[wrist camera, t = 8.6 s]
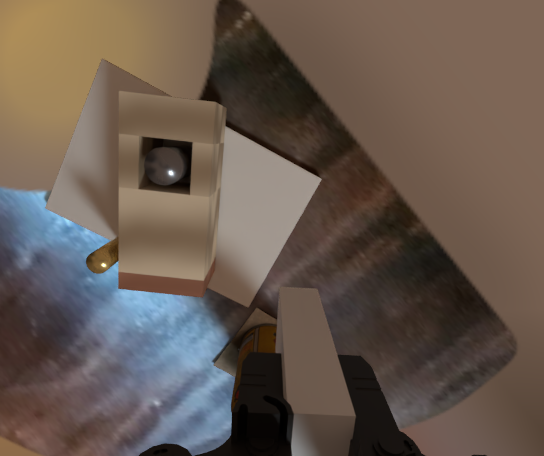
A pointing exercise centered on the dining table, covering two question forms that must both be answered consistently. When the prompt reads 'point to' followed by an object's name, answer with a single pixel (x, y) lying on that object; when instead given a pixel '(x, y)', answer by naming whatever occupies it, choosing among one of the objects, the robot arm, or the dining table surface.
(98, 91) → the base board
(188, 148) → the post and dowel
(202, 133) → the beige block with hole
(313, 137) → the dining table surface
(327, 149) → the dining table surface
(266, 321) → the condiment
